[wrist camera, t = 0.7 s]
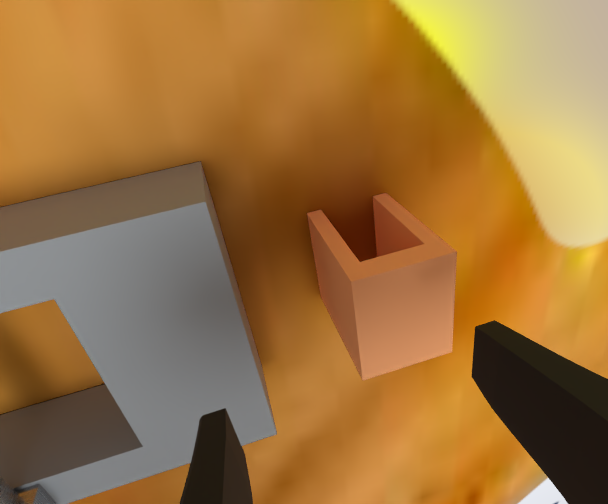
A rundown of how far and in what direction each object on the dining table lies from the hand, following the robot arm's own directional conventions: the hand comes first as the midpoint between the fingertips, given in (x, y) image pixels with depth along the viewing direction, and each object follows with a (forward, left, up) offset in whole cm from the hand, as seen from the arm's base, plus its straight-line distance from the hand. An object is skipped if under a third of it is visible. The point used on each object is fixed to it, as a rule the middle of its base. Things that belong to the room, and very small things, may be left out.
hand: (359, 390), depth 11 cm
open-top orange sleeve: (-2, -3, -10) cm, 10 cm away
